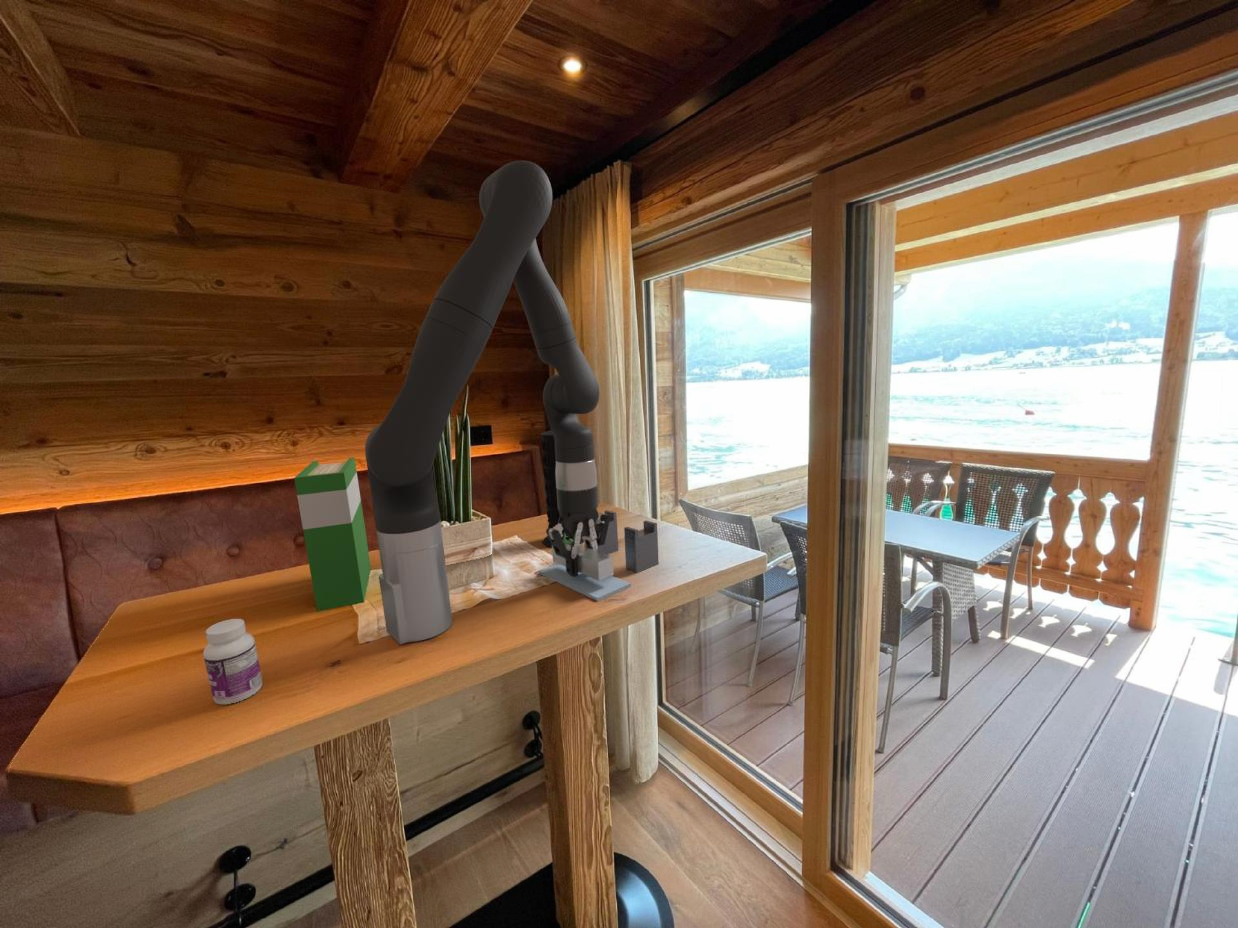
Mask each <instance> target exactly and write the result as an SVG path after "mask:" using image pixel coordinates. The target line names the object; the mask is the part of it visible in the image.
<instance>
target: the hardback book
mask: <svg viewBox="0 0 1238 928" xmlns="http://www.w3.org/2000/svg"><path fill="white" fill-rule="evenodd" d="M293 478H294V485H295V491H296V497H297V501H298V507H299V508H298V509H299V513H300V514H299V515H300V520H301V525H302V526H301V527H302V531H303V538H304V543H305V548H306V554H307V560H308V567H309V572H310V576H311V577H310V578H311V583H312V588H313V589H312V590H313V593H314V600H315V606H316V612H320V611H326V610H332V609H336V608H342V607H343V608H344V607H347V606H352V605H359V604H362V603H365V598H366V594H367V588H368V584H369V580H370V576H369V575H371V571H372V566H371V561H370V560H371V559H370V553H369V546H368V539H367V538H368V537H367V533H366V527H365V519H364V512H363V506H362V499H361V493H360V486H359V479H358V473H357V464H356V458H355V456H353V457H349V458H348V459H347V460H346V461H341V462H330V463H319V460H314V461H311V463H309V464H308V465H307V466H306V467H305V468H304V469H302V470H301V471H300V472H299V473H298V474H297V475H295V477H293ZM358 603H359V604H358Z"/></svg>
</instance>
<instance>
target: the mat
mask: <svg viewBox="0 0 1238 928" xmlns="http://www.w3.org/2000/svg"><path fill="white" fill-rule="evenodd" d="M538 574H539V575H541V576H542V577H545V578H548V579H550V580H552V581H553V582H555V583H558V584H560V585H562V586H565V587H567V588H569V589H571V590H573V591H575V592H577V593H579V594H581V595H583V596H586V597H588V598H590V599H592V600H594V601H597V602H599V601H602V600H603V599H606V598H608V597H610V596H612V595H614V594H617V593H619V592H621V591H623V590H626V589H628V588H631V586H632V583H631V582H628V581H626V580H624V579H620V578H619V577H615V576H614V575H612V576H609V577H607V578H605V579H602V580H600V581H598V580H596V579H594V578H591V577H589V576H586V575H584V574H582V573H579V572H578V576H576V577H573V576H570V575H569V574H568V573H567V571H566V567H565V566H563V565H561V564H558V563H555V564H553V565H551V566H549V567H545V568H543V569H540V570H538Z"/></svg>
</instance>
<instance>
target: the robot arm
mask: <svg viewBox="0 0 1238 928" xmlns="http://www.w3.org/2000/svg"><path fill="white" fill-rule="evenodd" d="M478 202H479V208H480V211H481V213H482V217H483V220H482V222H481V225H480V227H479V229H478V231H477V233H476V235H475V237H474V239H473V241H472V242H471V244H470V245H469V247H468V248H467V249H466V251H465V252H464V253H463V255H462V256H461V257H460V259H459V260H458V261H457V263H456V264H455V265H454V267H453V268H452V269H451V271H450V272H449V274H448V275H447V276H446V278H445V280H444V281H443V282H442V284H441V285H440V287H439V289H438V291H437V292H436V294H435V296H434V298H433V300H432V302H431V304H430V307H429V309H428V311H427V313H426V315H425V318H424V320H423V322H422V325H421V327H420V329H419V333H418V335H417V338H416V340H415V344H414V348H413V351H412V353H411V358H410V362H409V367H408V370H407V374H406V376H405V380H404V382H403V385H402V387H401V389H400V391H399V393H398V395H397V397H396V398H395V400H394V401H393V404H392V406H391V408H390V410H389V411H388V413H387V414H386V416H385V418H384V420H383V421H382V422H381V423H380V424H378V425H377V426H375V427H374V428H373V429H372V430H371V431H370V433H369V434H368V435H367V437H366V441H365V444H364V445H365V446H364V452H365V454H364V455H365V460H366V462H365V463H366V467H367V474H368V475H367V476H368V482H369V487H370V495H371V496H370V497H371V504H372V512H373V518H374V523H375V530H376V536H377V544H378V551H379V559H380V563H381V565H380V566H381V572H382V574H381V573H380V575H379V576H378V579H379V580H378V581H379V588H380V594H381V601H382V602H381V603H382V608H383V609H382V610H383V616H384V623H385V628H386V630H385V631H386V632H387V633H388V634H389V635H390V637H392V639H394V640H395V641H396V642H397V643H398V645H404V644H406V643H412V642H420V641H423V640H424V641H425V640H427V639H431V638H434V637H436V636H439V635H440V634H442V633H445V631H447V630H448V629H449V628H450V627H451V625H452V623H453V616H452V615H453V614H452V605H451V599H450V589H449V583H448V582H449V581H448V573H447V565H446V558H445V546H444V541H443V539H444V538H443V532H442V530H443V529H442V523H441V522H442V521H441V513H440V505H439V501H438V498H437V497H438V496H437V493H436V487H435V480H434V472H433V465H434V462H435V459H436V455H437V453H438V450H439V447H440V442H441V440H442V436H443V434H444V431H445V429H446V425H447V422H448V419H449V417H450V414H451V412H452V409H453V407H454V406H455V403H456V402H457V399H458V397H459V395H460V394H461V392H462V391H463V389H464V387H465V385H466V383H467V382H468V380H469V378H470V376H471V374H472V373H473V370H474V369H475V367H476V365H477V362H478V361H479V359H480V357H481V355H482V353H483V351H484V349H485V348H486V345H487V343H488V341H489V340H490V339H489V338H490V337H491V334H492V331H493V330H494V327H495V325H496V322H497V319H498V317H499V316H500V313H501V310H502V308H503V306H504V304H505V301H506V299H507V297H508V296H509V295H508V294H509V292H510V289H511V287H512V285H513V284H514V286H515V290H516V291H517V294H518V296H519V299H520V302H521V305H522V307H523V311H524V314H525V317H526V319H527V323H528V326H529V330H530V332H531V337H532V338H533V343H534V346H535V348H536V352H537V355H538V357H539V359H540V361H541V362H542V363H543V364H546V365H548V366H549V367H552V368H554V369H555V370H556V372H557V374H554V375H552V376H550V377H549V378H547V381H546V382H545V384H544V387H543V392H542V400H543V401H542V402H543V406H544V410H545V414H546V417H547V420H548V424H549V428H550V430H552V433H553V436H554V439H555V455H556V472H555V474H556V489H557V503H558V510H559V512H560V518H559V521H558V524H557V525H556V526H555V527H553V528H548V527H547V528H546V530H545V534H546V535H547V536H548V538H549V540H550V542H551V544H552V547H553V549H554V551H555V553H556V555H558V556H561V557H563V558H565V560H566V571H567V573H568V574H569V575H570V576H573V577H576V576H578V563H577V558H576V555H577V547H578V546H579V545H581V544H580V538H583V540H584V542H583V543H584V546H585V547H588V548H590V549H593V550H597V549H598V547H599V546H600V545H604V543H605V539H606V535H607V530H608V525H609V521H610V516H609V515H607V514H605V512H604V513H602V512H599V511H598V507H599V494H598V493H599V492H598V491H599V490H598V475H597V474H598V473H597V466H596V461H595V460H596V459H595V447H594V446H595V445H594V444H595V443H594V434H593V432H592V430H591V429H590V428H589V427H587V426H585V425H583V424H582V423H580V420H579V417H578V415H584V414H585V415H586V414H589V413H591V412H592V411H594V410H595V409H596V407H598V403H599V401H600V387H599V382H598V380H597V377H596V375H595V373H594V371H593V370H592V369H593V368H592V367H591V365H590V363H589V361H588V360H587V358H586V356H585V354H584V353H583V351H582V350H581V348H580V347H579V344H578V341H577V336H576V333H575V330H574V326H573V322H572V319H571V315H570V312H569V309H568V307H567V304H566V302H565V300H564V299H563V298H564V297H563V296H562V294H561V293H560V290H559V289H558V288H557V286H556V284H555V283H554V280H553V279H552V278H551V276H550V274H549V272H548V270H547V268H546V266H545V264H544V262H543V259H542V256H541V253H540V250H539V248H538V244H537V239H536V238H537V237H538V235H539V233H540V231H541V230H542V228H543V226H544V225H545V223H546V222H547V220H548V219H549V215H550V213H551V210H552V205H553V189H552V185H551V182H550V179H549V177H548V175H547V173H546V172H545V171H544V170H543V168H542V167H541V166H539V165H538V164H537V163H535V162H533V161H528V160H516V161H511V162H509V163H506V164H504V165H503V166H500V168H498V169H497V170H495V171H494V172H493V173H491V174H490V175H489V176H488V177H486V179H485V180H483V183H482V184H481V187H480V189H479V195H478ZM594 526H595V528H594ZM562 530H563V531H564V539H562V536H563V534H562ZM599 535H600V538H599ZM571 538H573V540H572V539H571ZM570 549H571V550H570Z"/></svg>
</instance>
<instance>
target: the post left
mask: <svg viewBox="0 0 1238 928" xmlns="http://www.w3.org/2000/svg"><path fill="white" fill-rule="evenodd" d="M604 514H607V515H609V516H610V521H609V525H608V530H607V535H606V539H605V543H604V545H600V546H599V547H598V549H597V550H596V551H599V552H602V553H604V554H607V555H610V554H612V553H614V552H617V551H619V537H618V536H619V535H618V519H617V517H618V516H617V512H615V511H614V510H613V511H612V510H609V509H606V510H604ZM594 528H595V526H594ZM599 538H600V535H599Z"/></svg>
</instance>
